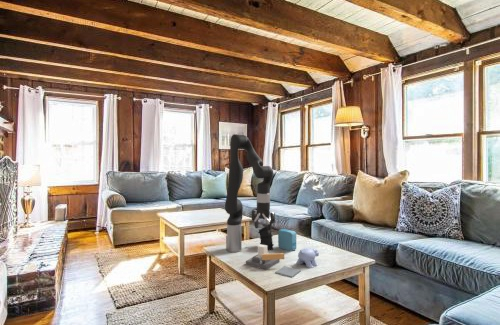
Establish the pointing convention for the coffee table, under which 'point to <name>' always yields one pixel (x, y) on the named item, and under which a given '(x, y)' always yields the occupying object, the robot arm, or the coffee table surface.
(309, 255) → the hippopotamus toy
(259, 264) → the socket block
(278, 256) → the orange rod with knob
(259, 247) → the plug
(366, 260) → the coffee table surface
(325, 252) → the coffee table surface
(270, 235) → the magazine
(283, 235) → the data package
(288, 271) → the mat
